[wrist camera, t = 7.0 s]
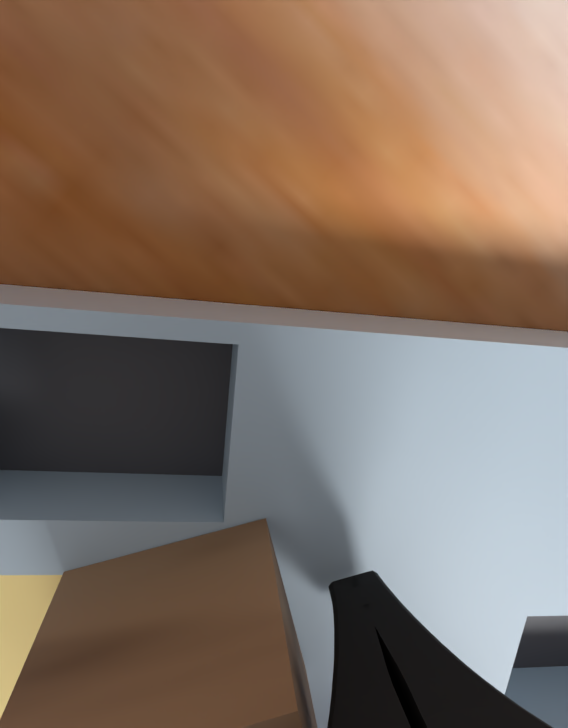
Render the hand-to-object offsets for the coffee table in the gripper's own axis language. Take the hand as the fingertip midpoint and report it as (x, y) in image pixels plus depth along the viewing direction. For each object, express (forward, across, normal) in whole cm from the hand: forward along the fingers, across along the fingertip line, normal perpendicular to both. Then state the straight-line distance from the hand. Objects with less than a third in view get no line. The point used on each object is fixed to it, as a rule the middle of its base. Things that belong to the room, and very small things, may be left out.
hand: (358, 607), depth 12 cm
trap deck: (+3, -1, 0) cm, 3 cm away
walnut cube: (+1, +4, 0) cm, 4 cm away
